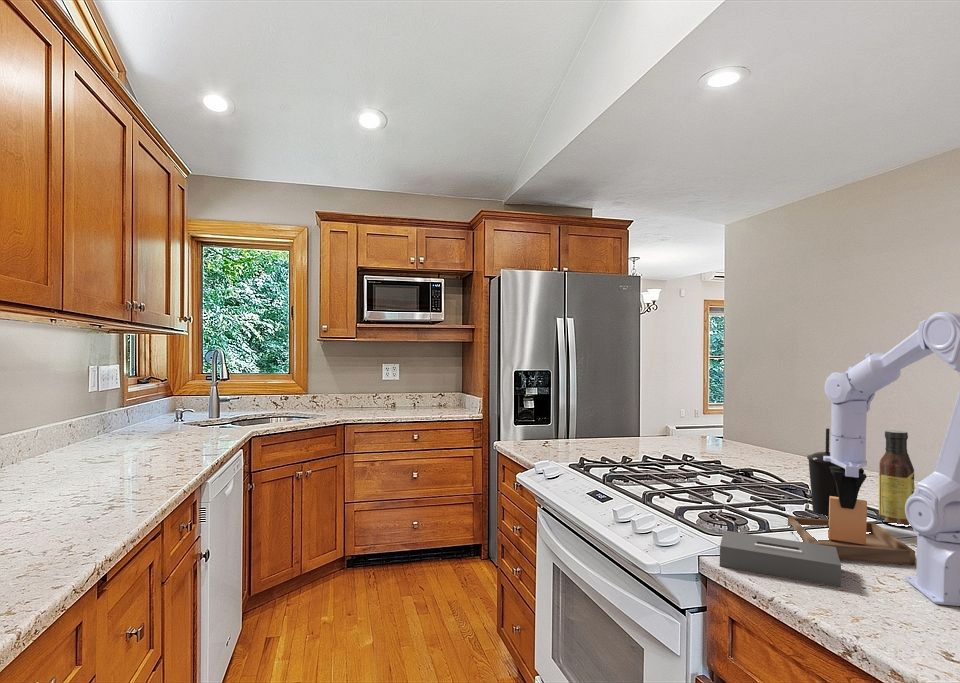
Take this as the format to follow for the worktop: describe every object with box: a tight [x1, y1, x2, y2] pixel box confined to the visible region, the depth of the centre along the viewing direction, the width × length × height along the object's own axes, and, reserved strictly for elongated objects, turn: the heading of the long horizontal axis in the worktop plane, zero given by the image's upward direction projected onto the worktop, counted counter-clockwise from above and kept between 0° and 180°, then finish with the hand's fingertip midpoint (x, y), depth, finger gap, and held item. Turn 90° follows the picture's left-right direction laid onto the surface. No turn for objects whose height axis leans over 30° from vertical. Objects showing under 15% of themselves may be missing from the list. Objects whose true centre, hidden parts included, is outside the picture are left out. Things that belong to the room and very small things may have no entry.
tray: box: [787, 516, 916, 566], centre depth 112 cm, size 16×16×2 cm
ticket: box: [828, 496, 868, 545], centre depth 112 cm, size 6×2×8 cm, turn 63°
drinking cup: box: [806, 428, 839, 517], centre depth 127 cm, size 8×8×20 cm
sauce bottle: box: [878, 429, 915, 525], centre depth 126 cm, size 7×6×20 cm
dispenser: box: [719, 530, 842, 588], centre depth 102 cm, size 18×9×4 cm, turn 63°
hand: (846, 506), depth 112 cm, fingers closed on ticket, 1 cm apart
